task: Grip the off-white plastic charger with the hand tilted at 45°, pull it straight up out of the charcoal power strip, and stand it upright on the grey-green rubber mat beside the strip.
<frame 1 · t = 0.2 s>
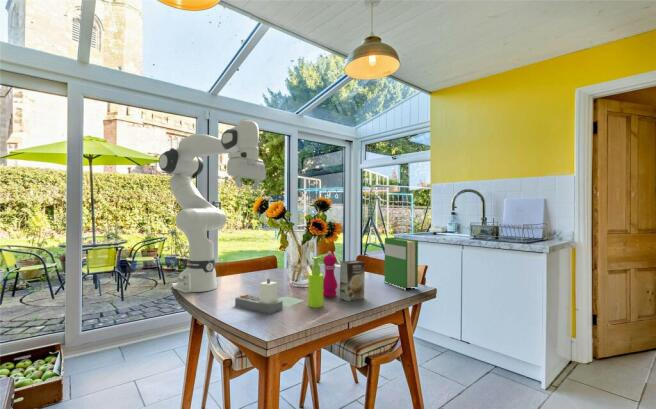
hand: (247, 188, 139), 48 cm above the table, tool pointing down, fingers open, 8 cm apart
hardback book: (400, 286, 164), on the table
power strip: (258, 309, 124), on the table
pepper mill: (329, 295, 146), on the table
soap dispenser: (316, 307, 128), on the table
rubber mat: (286, 303, 132), on the table
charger: (268, 309, 121), point 1 cm above the table, touching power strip
coffee box: (352, 298, 141), on the table
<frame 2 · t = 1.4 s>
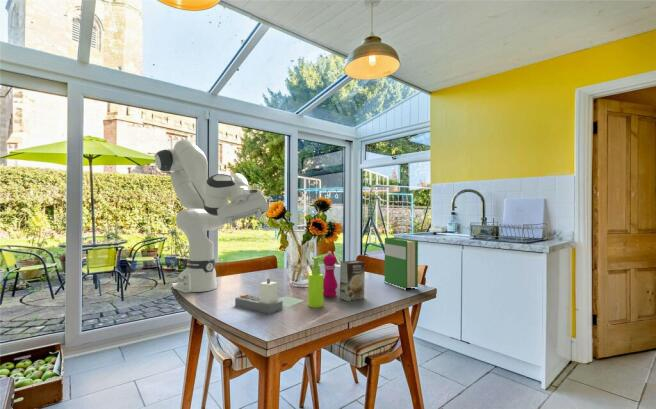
hand: (246, 222, 124), 34 cm above the table, tool tilted 50°, fingers open, 8 cm apart
nothing on the table moved.
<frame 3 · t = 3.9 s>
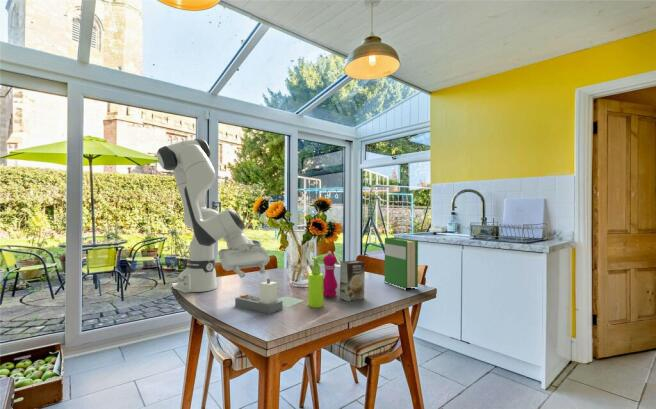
hand: (253, 274, 126), 13 cm above the table, tool tilted 45°, fingers open, 8 cm apart
nothing on the table moved.
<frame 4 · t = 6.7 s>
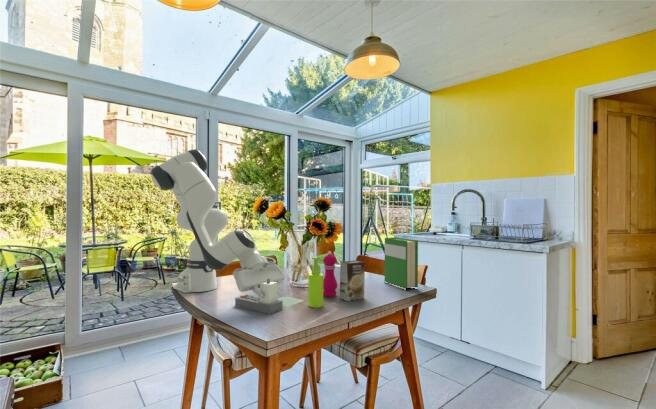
hand: (269, 295, 121), 6 cm above the table, tool tilted 45°, fingers closed on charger, 5 cm apart
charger: (268, 309, 121), point 1 cm above the table, touching gripper, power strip
everything else where it was.
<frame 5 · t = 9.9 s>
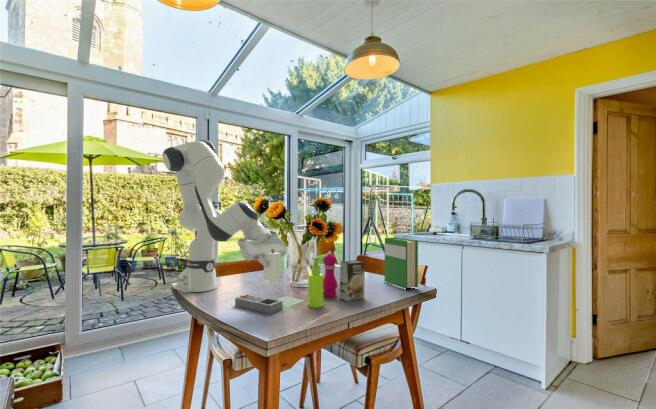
hand: (273, 265, 123), 17 cm above the table, tool tilted 45°, fingers closed on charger, 5 cm apart
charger: (272, 279, 123), point 12 cm above the table, touching gripper
everything else where it was.
when the fingers open (8 cm above the table, at t = 13.3 s): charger drops 1 cm, resting on rubber mat.
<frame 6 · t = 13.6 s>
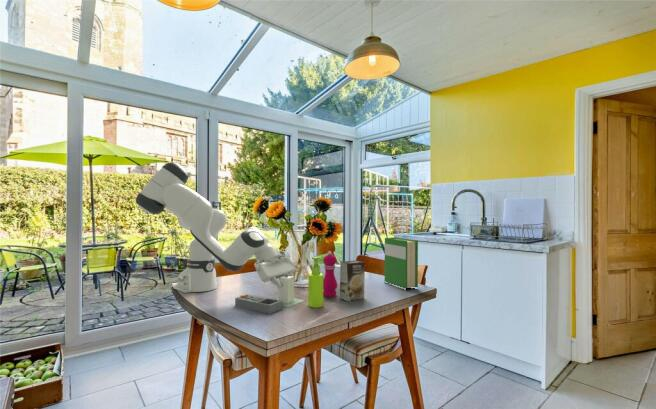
hand: (287, 284, 132), 8 cm above the table, tool tilted 45°, fingers open, 8 cm apart
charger: (286, 301, 132), point 1 cm above the table, touching rubber mat
everything else where it was.
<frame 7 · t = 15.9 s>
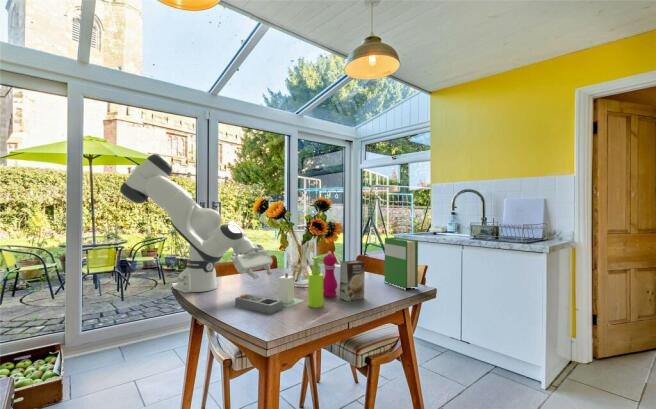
hand: (263, 276, 139), 10 cm above the table, tool tilted 45°, fingers open, 8 cm apart
nothing on the table moved.
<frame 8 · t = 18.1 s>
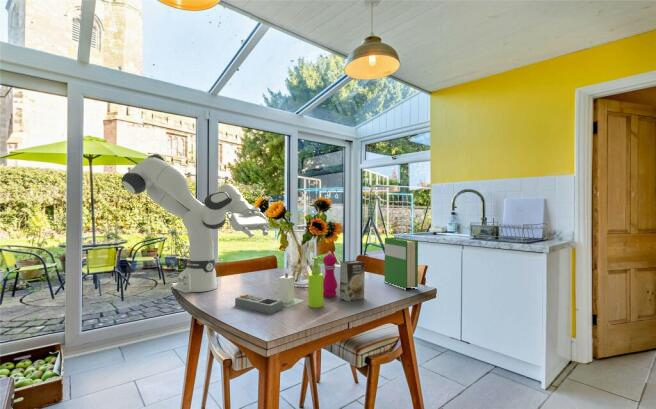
hand: (259, 235, 139), 27 cm above the table, tool tilted 45°, fingers open, 8 cm apart
nothing on the table moved.
at the end: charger inside the target area on the rubber mat (0.0 cm from its centre), point 1.0 cm above the rubber mat's base; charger tilted 0°; the gripper is holding nothing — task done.
